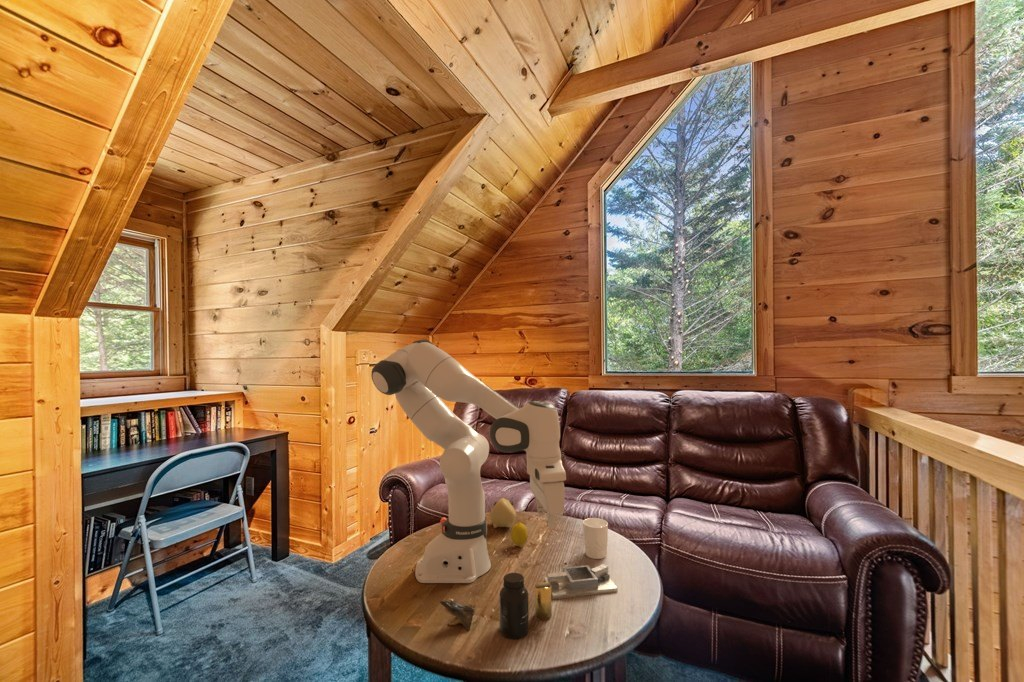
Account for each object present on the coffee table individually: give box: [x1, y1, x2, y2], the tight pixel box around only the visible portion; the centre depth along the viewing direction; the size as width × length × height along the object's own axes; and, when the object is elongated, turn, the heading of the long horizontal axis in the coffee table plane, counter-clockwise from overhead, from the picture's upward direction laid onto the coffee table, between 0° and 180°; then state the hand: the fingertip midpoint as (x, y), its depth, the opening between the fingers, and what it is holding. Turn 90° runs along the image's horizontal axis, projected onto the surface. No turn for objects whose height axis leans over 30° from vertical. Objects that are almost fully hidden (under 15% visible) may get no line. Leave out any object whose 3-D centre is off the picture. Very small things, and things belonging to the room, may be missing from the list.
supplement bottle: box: [498, 572, 530, 640], centre depth 97 cm, size 7×7×12 cm
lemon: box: [510, 521, 529, 547], centre depth 139 cm, size 6×6×8 cm
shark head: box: [439, 600, 476, 631], centre depth 99 cm, size 8×6×7 cm
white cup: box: [582, 517, 609, 560], centre depth 133 cm, size 8×8×10 cm
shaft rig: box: [543, 563, 618, 600], centre depth 115 cm, size 18×9×4 cm, turn 100°
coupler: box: [534, 581, 553, 621], centre depth 102 cm, size 4×4×7 cm
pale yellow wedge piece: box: [488, 497, 517, 529], centre depth 155 cm, size 10×12×11 cm
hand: (546, 520), depth 105 cm, fingers open, 8 cm apart
